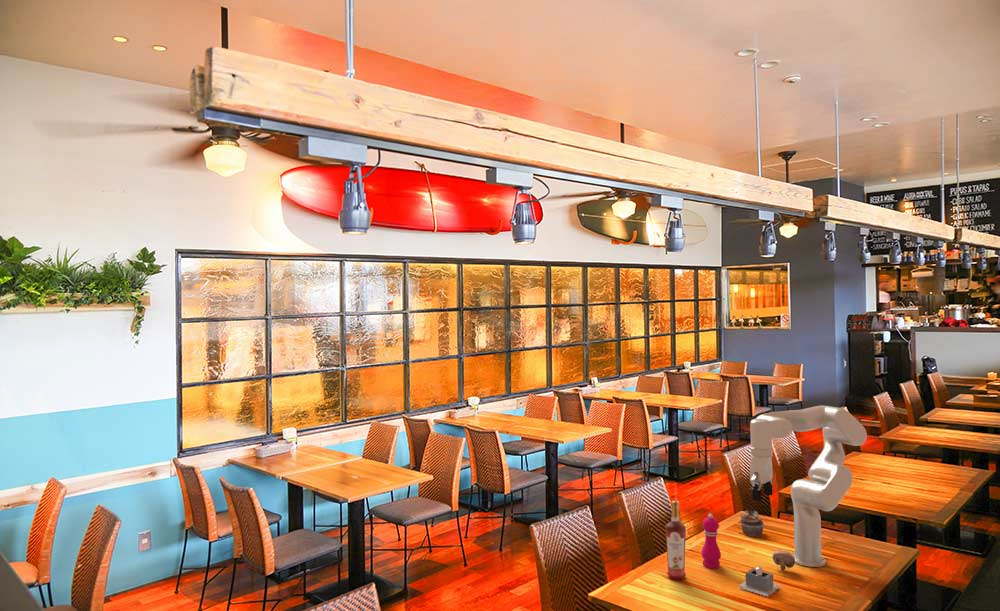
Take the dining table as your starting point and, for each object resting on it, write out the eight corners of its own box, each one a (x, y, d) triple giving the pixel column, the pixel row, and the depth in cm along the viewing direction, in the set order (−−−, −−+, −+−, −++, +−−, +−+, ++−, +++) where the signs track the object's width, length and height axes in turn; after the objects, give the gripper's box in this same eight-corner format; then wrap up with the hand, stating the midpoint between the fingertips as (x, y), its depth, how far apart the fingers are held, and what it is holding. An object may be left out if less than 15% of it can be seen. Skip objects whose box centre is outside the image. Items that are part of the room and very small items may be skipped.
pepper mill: (722, 569, 244) (721, 517, 244) (702, 568, 245) (701, 516, 245) (719, 562, 251) (718, 511, 251) (700, 561, 252) (699, 510, 252)
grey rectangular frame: (745, 584, 228) (745, 572, 228) (752, 579, 232) (752, 568, 232) (766, 590, 223) (766, 578, 223) (773, 585, 227) (773, 574, 227)
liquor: (687, 574, 240) (685, 499, 240) (686, 582, 233) (684, 505, 233) (666, 572, 242) (665, 498, 243) (665, 580, 235) (664, 503, 236)
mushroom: (769, 569, 244) (769, 548, 244) (779, 565, 247) (778, 545, 247) (788, 576, 237) (787, 554, 237) (797, 572, 241) (797, 551, 241)
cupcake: (743, 537, 278) (742, 514, 278) (738, 529, 288) (738, 507, 288) (766, 538, 277) (766, 514, 277) (761, 530, 286) (760, 508, 286)
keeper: (751, 580, 234) (751, 560, 235) (779, 588, 227) (779, 567, 227) (739, 588, 228) (739, 568, 228) (767, 597, 220) (767, 576, 220)
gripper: (761, 446, 250) (762, 490, 250) (741, 454, 238) (742, 500, 238) (780, 449, 245) (781, 494, 245) (761, 457, 233) (762, 504, 233)
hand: (762, 497), depth 241 cm, fingers open, 9 cm apart
